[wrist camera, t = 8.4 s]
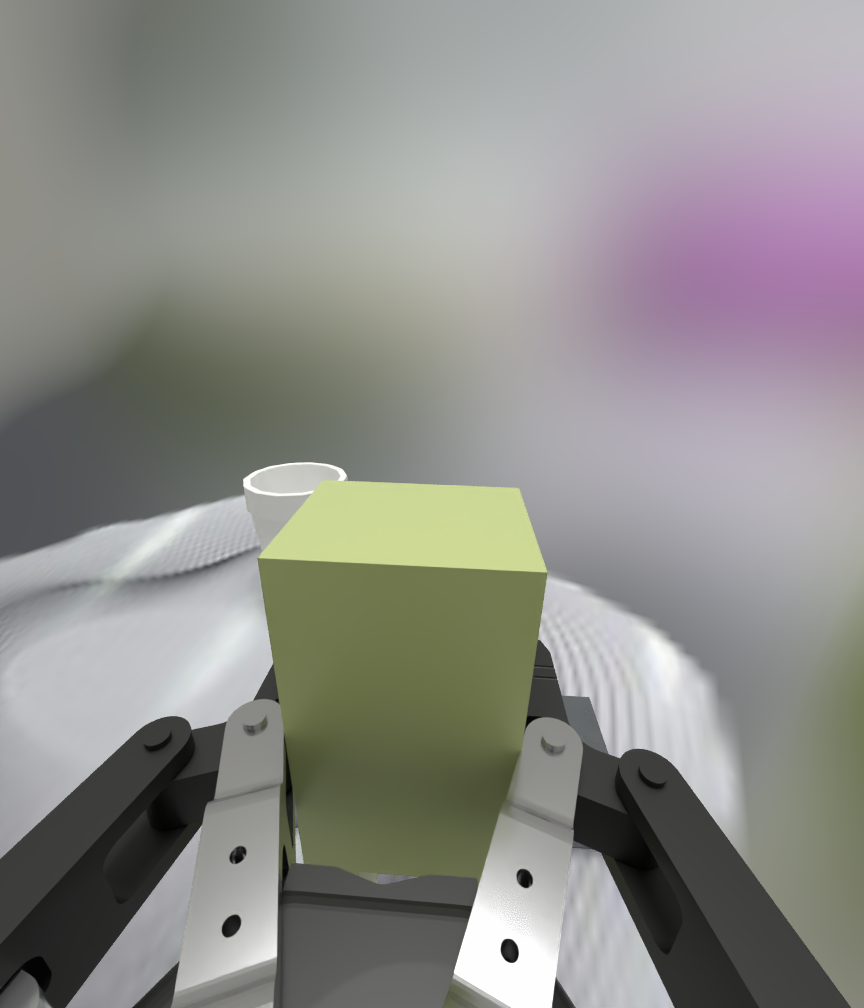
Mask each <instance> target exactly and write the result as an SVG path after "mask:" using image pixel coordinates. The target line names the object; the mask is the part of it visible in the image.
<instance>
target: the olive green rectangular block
mask: <svg viewBox="0 0 864 1008" xmlns="http://www.w3.org/2000/svg"><path fill="white" fill-rule="evenodd" d="M258 565H259V571H260V578H261V585H262V591H263V598H264V604H265V611H266V617H267V624H268V631H269V637H270V644H271V650H272V657H273V663H274V670H275V676H276V683H277V690H278V696H279V703H280V709H281V716H282V722H283V729H284V736H285V742H286V749H287V755H288V762H289V768H290V775H291V781H292V788H293V795H294V801H295V808H296V814H297V821H298V827H299V834H300V841H301V847H302V854H303V860H304V864H311V865H323V866H335V867H338V868H341V869H343V870H345V871H348V872H350V873H353V874H355V875H357V876H360V877H362V878H364V879H367V880H369V881H372V882H374V883H376V879H377V873H378V874H391V875H403V876H415V877H422V876H426V875H431V874H433V875H445V876H457V877H469V878H478V887H479V883H480V880H481V876H482V873H483V869H484V866H485V862H486V859H487V855H488V852H489V848H490V845H491V841H492V838H493V834H494V831H495V827H496V824H497V820H498V817H499V813H500V810H501V807H502V804H503V801H504V799H505V800H506V798H507V795H508V791H509V788H510V784H511V780H512V777H513V773H514V770H515V766H516V763H517V759H518V755H519V752H520V751H522V746H523V739H524V732H525V725H526V718H527V711H528V704H529V697H530V690H531V683H532V676H533V669H534V662H535V655H536V648H537V642H538V635H539V628H540V621H541V614H542V607H543V600H544V593H545V586H546V579H547V570H546V567H545V564H544V561H543V558H542V555H541V552H540V549H539V546H538V543H537V540H536V537H535V534H534V531H533V528H532V526H531V523H530V520H529V517H528V514H527V511H526V508H525V505H524V502H523V499H522V496H521V493H520V490H519V488H503V487H479V486H455V485H429V484H406V483H404V484H403V483H382V482H357V481H355V482H354V481H333V480H323V481H322V482H321V483H320V484H319V486H318V487H317V488H316V489H315V490H314V492H313V493H312V494H311V495H310V496H309V497H308V499H307V500H306V501H305V502H304V503H303V505H302V506H301V507H300V508H299V509H298V511H297V512H296V513H295V514H294V515H293V516H292V518H291V519H290V520H289V521H288V522H287V524H286V525H285V526H284V527H283V528H282V529H281V531H280V532H279V533H278V534H277V535H276V537H275V538H274V539H273V540H272V541H271V543H270V544H269V545H268V546H267V547H266V548H265V550H264V551H263V552H262V553H261V554H260V556H259V557H258Z"/></svg>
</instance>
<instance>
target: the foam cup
mask: <svg viewBox="0 0 864 1008" xmlns="http://www.w3.org/2000/svg"><path fill="white" fill-rule="evenodd" d="M323 480H333V481H347V475H346V474H345V472H344V471H343V469H340V468H337V467H335V466H332V465H328V464H320V463H288V464H282V465H276V466H270V467H267V468H264V469H261V470H258V471H255V472H253V473H251V474H250V475H249V476H248V477H246V478H245V479H244V480H243V481H244V492H245V498H246V505H247V511H248V512H250V513H251V516H252V520H253V523H254V526H255V529H256V533H257V536H258V539H259V542H260V546H261V549H262V552H263V551H264V550H265V548H266V547H267V546H268V545H269V544H270V543H271V541H272V540H273V539H274V538H275V537H276V535H277V534H278V533H279V532H280V531H281V529H282V528H283V527H284V526H285V525H286V524H287V522H288V521H289V520H290V519H291V518H292V516H293V515H294V514H295V513H296V512H297V511H298V509H299V508H300V507H301V506H302V505H303V503H304V502H305V501H306V500H307V499H308V497H309V496H310V495H311V494H312V493H313V492H314V490H315V489H316V488H317V487H318V486H319V484H320V483H321V482H322V481H323Z"/></svg>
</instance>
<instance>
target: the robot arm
mask: <svg viewBox="0 0 864 1008" xmlns="http://www.w3.org/2000/svg"><path fill="white" fill-rule="evenodd" d="M201 825H202V830H201V836H200V842H199V848H198V854H197V860H196V866H195V872H194V878H193V884H192V890H191V896H190V902H189V908H188V914H187V920H186V926H185V932H184V937H183V943H182V949H181V955H180V961H179V962H178V963H177V964H176V965H175V966H174V967H173V968H172V969H171V970H170V971H169V972H168V973H167V974H166V975H165V976H164V977H163V978H162V979H161V980H160V981H159V982H158V983H157V984H156V985H155V986H154V987H153V988H152V989H151V990H150V991H149V992H148V993H147V994H146V995H145V996H144V997H143V998H142V999H141V1000H140V1001H139V1002H138V1003H137V1004H135V1005H134V1006H133V1007H132V1008H575V1006H574V1004H573V1003H572V1001H571V1000H570V998H569V997H568V995H567V994H566V992H565V991H564V989H563V987H562V986H561V984H560V983H559V981H558V980H557V978H556V969H557V961H558V953H559V946H560V938H561V930H562V922H563V914H564V907H565V899H566V891H567V883H568V876H569V868H570V860H571V852H572V844H573V841H575V842H577V843H580V844H582V845H584V846H587V847H589V848H591V849H594V850H596V851H598V852H601V853H602V856H603V858H604V860H605V862H606V864H607V866H608V869H609V871H610V873H611V875H612V877H613V879H614V881H615V883H616V885H617V887H618V890H619V892H620V894H621V896H622V898H623V900H624V902H625V904H626V906H627V908H628V911H629V913H630V915H631V917H632V919H633V921H634V923H635V925H636V927H637V930H638V932H639V934H640V936H641V938H642V940H643V942H644V944H645V946H646V948H647V951H648V953H649V955H650V957H651V959H652V961H653V963H654V965H655V967H656V969H657V972H658V974H659V976H660V978H661V980H662V982H663V984H664V986H665V988H666V990H667V993H668V995H669V997H670V999H671V1001H672V1003H673V1005H674V1007H675V1008H851V1007H850V1006H849V1004H848V1003H847V1002H846V1000H845V999H844V997H843V996H842V995H841V993H840V992H839V991H838V989H837V988H836V986H835V985H834V984H833V982H832V981H831V980H830V978H829V977H828V976H827V974H826V973H825V972H824V970H823V969H822V967H821V966H820V965H819V963H818V962H817V961H816V960H815V958H814V956H813V955H812V954H811V953H810V951H809V950H808V948H807V947H806V945H805V944H804V943H803V941H802V940H801V939H800V937H799V936H798V934H797V933H796V932H795V930H794V929H793V928H792V926H791V925H790V923H789V922H788V921H787V919H786V918H785V917H784V915H783V914H782V912H781V911H780V910H779V909H778V907H777V906H776V904H775V903H774V901H773V900H772V899H771V897H770V896H769V895H768V893H767V892H766V891H765V889H764V888H763V887H762V885H761V884H760V882H759V881H758V880H757V878H756V877H755V875H754V874H753V873H752V871H751V870H750V869H749V867H748V866H747V864H746V863H745V862H744V860H743V859H742V858H741V856H740V855H739V854H738V852H737V851H736V849H735V848H734V847H733V845H732V844H731V843H730V841H729V840H728V838H727V837H726V836H725V834H724V833H723V832H722V830H721V829H720V827H719V826H718V825H717V823H716V822H715V821H714V819H713V818H712V817H711V815H710V814H709V812H708V811H707V810H706V808H705V807H704V806H703V804H702V803H701V801H700V800H699V799H698V797H697V796H696V795H695V793H694V792H693V790H692V789H691V788H690V786H689V785H688V784H687V782H686V781H685V780H684V778H683V777H682V775H681V774H680V773H679V771H678V770H677V769H676V768H675V767H674V766H673V765H672V764H671V763H670V762H669V761H668V760H667V759H665V758H664V757H662V756H660V755H659V754H657V753H654V752H652V751H649V750H644V749H632V750H629V751H627V752H625V753H624V754H623V755H622V757H621V758H617V757H614V756H612V755H609V754H606V753H603V752H600V751H598V750H596V749H593V748H592V747H590V746H588V745H587V744H585V743H584V742H583V741H582V740H581V739H580V737H579V735H578V734H577V732H576V731H575V730H574V729H573V728H572V727H571V726H570V724H569V721H568V718H567V714H566V710H565V707H564V703H563V699H562V695H561V692H560V688H559V684H558V680H557V676H556V673H555V669H554V665H553V661H552V658H551V654H550V652H549V651H548V649H547V648H546V647H545V646H544V644H543V643H542V642H541V641H540V640H538V642H537V648H536V655H535V662H534V669H533V676H532V683H531V690H530V697H529V704H528V711H527V718H526V725H525V732H524V739H523V746H522V751H520V752H519V755H518V759H517V763H516V766H515V770H514V773H513V777H512V780H511V784H510V788H509V791H508V795H507V798H506V800H505V799H504V801H503V804H502V807H501V810H500V813H499V817H498V820H497V824H496V827H495V831H494V834H493V838H492V841H491V845H490V848H489V852H488V855H487V859H486V862H485V866H484V869H483V873H482V876H481V880H480V883H479V887H478V878H469V877H457V876H445V875H433V874H431V875H426V876H422V877H417V878H413V879H408V880H404V881H400V882H395V883H391V884H386V885H380V884H376V883H374V882H372V881H369V880H367V879H364V878H362V877H360V876H357V875H355V874H353V873H350V872H348V871H345V870H343V869H341V868H338V867H335V866H323V865H311V864H298V863H296V849H295V801H294V795H293V788H292V781H291V775H290V768H289V762H288V755H287V749H286V742H285V736H284V729H283V722H282V716H281V709H280V703H279V696H278V690H277V683H276V676H275V670H274V663H273V665H272V667H271V669H270V670H269V672H268V674H267V676H266V678H265V680H264V682H263V683H262V685H261V687H260V689H259V691H258V693H257V695H256V696H255V698H254V700H253V701H251V702H248V703H246V704H244V705H242V706H241V707H239V708H238V709H237V710H236V711H234V712H233V714H232V715H231V716H230V717H229V719H228V721H227V722H224V723H221V724H218V725H213V726H208V727H203V728H199V729H194V730H191V727H190V724H189V722H188V721H187V720H186V719H184V718H182V717H177V716H170V717H164V718H160V719H157V720H155V721H153V722H151V723H149V724H147V725H145V726H144V727H142V728H141V729H140V730H138V731H137V732H136V733H135V734H134V735H133V736H132V737H131V738H130V739H129V740H128V741H126V742H125V743H124V744H123V745H122V746H121V747H120V748H119V749H118V750H117V751H116V752H115V753H114V754H112V755H111V756H110V757H109V758H108V759H107V760H106V761H105V762H104V763H103V764H102V765H101V766H100V767H99V768H97V769H96V770H95V771H94V772H93V773H92V774H91V775H90V776H89V777H88V778H87V779H86V780H85V781H84V782H82V783H81V784H80V785H79V786H78V787H77V788H76V789H75V790H74V791H73V792H72V793H71V794H70V795H68V796H67V797H66V798H65V799H64V800H63V801H62V802H61V803H60V804H59V805H58V806H57V807H56V808H55V809H53V810H52V811H51V812H50V813H49V814H48V815H47V816H46V817H45V818H44V819H43V820H42V821H41V822H40V823H38V824H37V825H36V826H35V827H34V828H33V829H32V830H31V831H30V832H29V833H28V834H27V835H26V836H24V837H23V838H22V839H21V840H20V841H19V842H18V843H17V844H16V845H15V846H14V847H13V848H12V849H11V850H9V851H8V852H7V853H6V854H5V855H4V856H3V857H2V858H1V859H0V1008H65V1007H66V1006H67V1005H68V1003H69V1002H70V1001H71V999H72V998H73V997H74V995H75V994H76V993H77V991H78V990H79V989H80V987H81V986H82V985H83V983H84V982H85V981H86V979H87V978H88V977H89V975H90V974H91V973H92V971H93V970H94V969H95V967H96V966H97V965H98V963H99V962H100V961H101V959H102V958H103V957H104V955H105V954H106V953H107V951H108V950H109V949H110V947H111V946H112V945H113V943H114V942H115V941H116V939H117V938H118V936H119V935H120V934H121V932H122V931H123V930H124V928H125V927H126V926H127V924H128V923H129V922H130V920H131V919H132V918H133V916H134V915H135V914H136V912H137V911H138V910H139V908H140V907H141V906H142V904H143V903H144V902H145V900H146V899H147V898H148V896H149V895H150V894H151V892H152V891H153V890H154V888H155V887H156V886H157V884H158V883H159V882H160V880H161V879H162V878H163V876H164V875H165V874H166V872H167V871H168V870H169V868H170V867H171V866H172V864H173V863H174V862H175V860H176V859H177V858H178V856H179V855H180V853H181V852H182V851H183V849H184V848H185V847H186V845H187V844H188V843H189V841H190V840H191V839H192V837H193V836H194V835H195V833H196V832H197V831H198V829H199V828H200V827H201Z"/></svg>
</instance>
